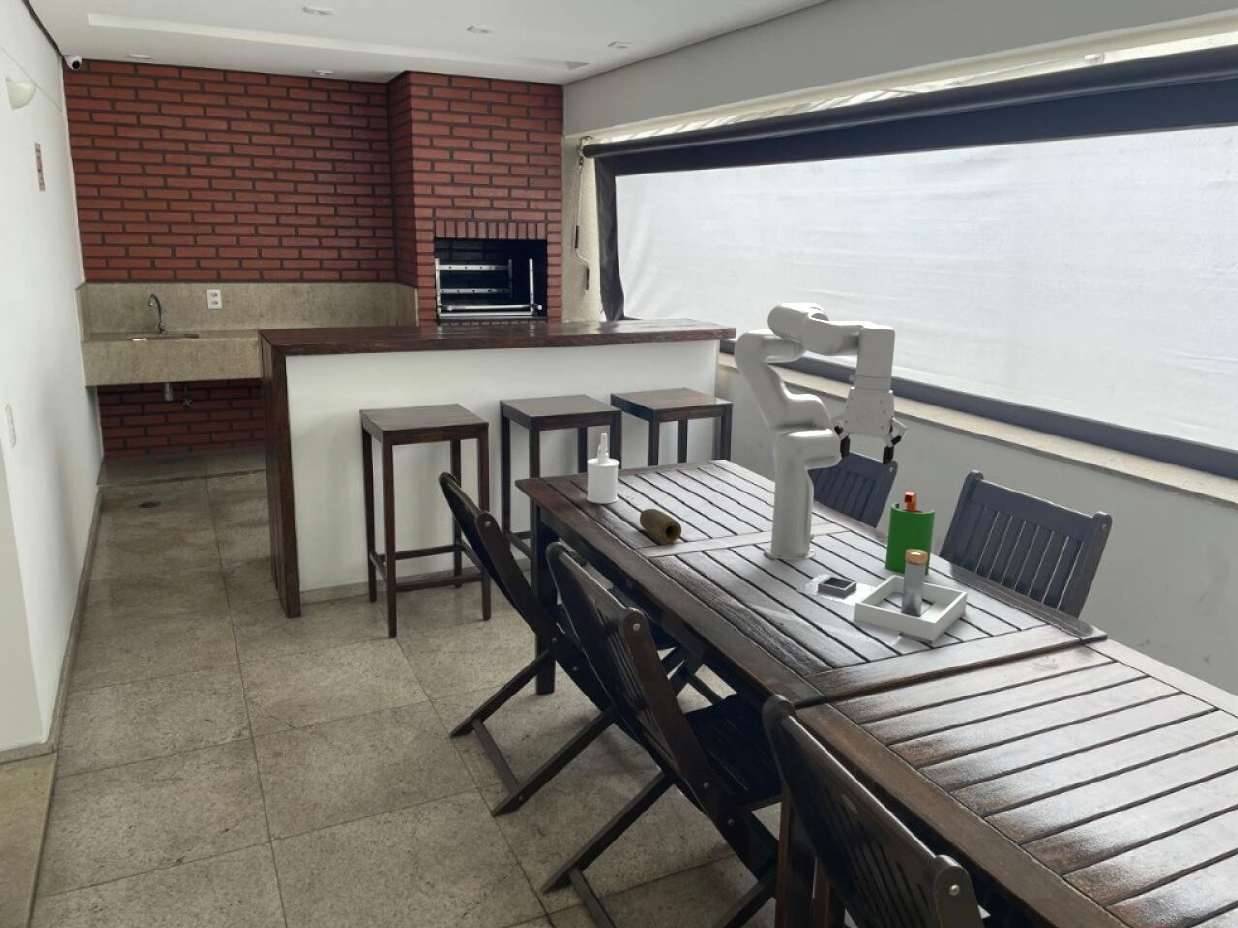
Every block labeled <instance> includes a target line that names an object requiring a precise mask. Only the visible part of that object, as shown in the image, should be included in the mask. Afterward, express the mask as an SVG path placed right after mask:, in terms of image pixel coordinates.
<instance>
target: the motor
mask: <svg viewBox="0 0 1238 928" xmlns="http://www.w3.org/2000/svg"><path fill="white" fill-rule="evenodd" d="M903 501H904V503H906V508H902V509H900V502H894V503H892V504H890V510H889V511H890V514H889V521H888V522H889V523H888V532H887V533H888V534H887V542H886V551H885V552H886V553H885V560H884V561H885V563H884V569H885V570H887V571H891V572H896V573H901V574H904V575H905V567H906V560H905V557H906V551H907V550H912V549H914V550H921V551H925V552H927V553H928V559H927V563H926V568H925V576H927V575H928V574H929V572H930V571H929V569H930V562H931V561H930V560H931V552H932V542H933V536H934V535H933V534H934V532H933V531H934V526H935V525H934V524H935V516H936V510H935V509H930V510H929V511H927V512H925V511H923V510H919V509H917V493H916V492H914V491H913V492H912V491H906V492H905V494H904V500H903Z"/></svg>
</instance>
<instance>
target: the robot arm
mask: <svg viewBox="0 0 1238 928" xmlns="http://www.w3.org/2000/svg"><path fill="white" fill-rule="evenodd" d="M766 322H767V327H768V328H769V329H754V330H749V331H746V332H744V333H742V334H741V335H740V336H738V338H737V340H735V341H736V342H735V345H734V362H735V366H736V368H737V371H738V373H739V375H740V377H741V379H742V380H743V382H744V383H745V385H746V386H747V387H748V389H749V391H750V392H751V394H752V397H753V399H754V401H755V403H756V405H757V407H758V410H759V412H760V415H761V416H762V418H763V420H764V423H765V425H766V426H767V428H768V430H770V432H772V433H775V434H780V435H779V436H778V437H777V438H776V439H775V441H774V444H773V447H772V450H773V451H772V452H773V453H772V454H773V456H772V457H773V460H774V461H773V462H774V476H775V477H774V478H775V479H774V494H773V495H774V497H773V510H772V525H771V526H772V527H771V539H770V544H768V545H766V546H765V547H764V548H763V549H764V550H763V551H764V554H765V556H766V557H768V558H770V559H771V560H777V559H781V560H789V561H791V560H792V561H800V560H809V559H812V558H813V557H815V556H816V552H815V550H814V549H813V548H811V547H810V546H811V541H812V540H814V539H815V535H814V533H813V532H812V520H813V519H812V518H813V506H814V494H815V493H814V492H815V491H814V490H815V489H814V483H813V481H812V479H811V477H810V474H809V473H808V470H813V469H823V468H829V467H833V466H836V465H837V464H839V462H840V461H841V460H842V458H843V459H844V458H846V457H848V456H850V451H851V438H850V436H851V435H857V436H864V437H871V438H877V439H881V438H882V440H883V441H884V443H885V445H886V446H884V447H883V457H882V464H883V465H885V466H887V465H889V464H891V462H892V461H893V460H894V455H895V454H894V453H895V446H896V445H897V444H899V443H900V442H902V440H903V439H904V437H905V436H906V434H907V433H908V431H909V427H907V426H906V425H904V424H903V423H902V422H900V420H897V419H896V418H895V403H894V402H895V400H894V391H893V390H891V382H892V373H893V371H892V370H893V361H894V352H895V341H896V331H895V329H894V328H893V327H892V326H887V325H880V324H879V325H878V324H875V323H872V322H870V321H864V320H862V321H860V320H859V321H858V320H855V321H854V320H853V321H852V320H851V321H850V320H847V321H845V320H843V321H830V320H829V317H828V316H827V314H826V312H825V310H824V309H823V308H822V306H820V305H819V304H817V303H813V302H787V303H786V302H785V303H781V304H778V305H776V306H774V307H773V308H772V309H771V310H770V311H769V313H768V316H767V318H766ZM806 352H811V353H813V354H817V355H819V356H826V357H840V356H841V357H843V356H850V357H851V356H853V357H854V356H856V365H855V373H854V374H851V375H849V376H848V381H849V382H852V383H853V387H850V388H849V390H848V391H849V392H848V395H847V398H846V403H845V408H844V413H843V412H842V413H841V414H837V415H835V416H833V417H831V414H830V413H829V411H828V409H827V407H826V406H825V403H824V402H823V401H822V400H821V399H820V398H819V396H818V397H817V395H813V394H810V393H804V394H803V393H800V394H794V393H791V392H790V391H789V389H788V387H787V385H786V383H785V381H784V379H783V378H782V377H781V375H780V374H779V373H778V372H777V371H776V370H774V369H773V368H772V367H770V366H769V365H768V364H777V363H791V362H795V361H797V360H799V359H800V358H802V357H803V355H804V354H805V353H806ZM842 420H843V421H842ZM841 421H842V425H841V424H840V422H841ZM894 429H896V430H897V431H898V433H897V434H896V436H894V435H893V431H894Z"/></svg>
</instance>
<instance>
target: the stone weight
mask: <svg viewBox="0 0 1238 928" xmlns="http://www.w3.org/2000/svg"><path fill="white" fill-rule="evenodd" d="M639 523H640V525H641V527H642V528H643V529H644V530H646V531H647V532H648V533H649V534H651V535H652V536H654V537H655V538H657V539H659V540H661V541H663V542H667V543H669V544H670V543H674V542H676V541H677V540H678V539H679V538H680V536H681V534H682V526H681V524H680V523H679V521H677V520H676V519H674V518H673V517H671V516H670V515H668V514H666V513H664V512H663V511H661V510H658V509H656V508H647V509H645V510H643V511H642V512H641V513H640V516H639Z"/></svg>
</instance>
